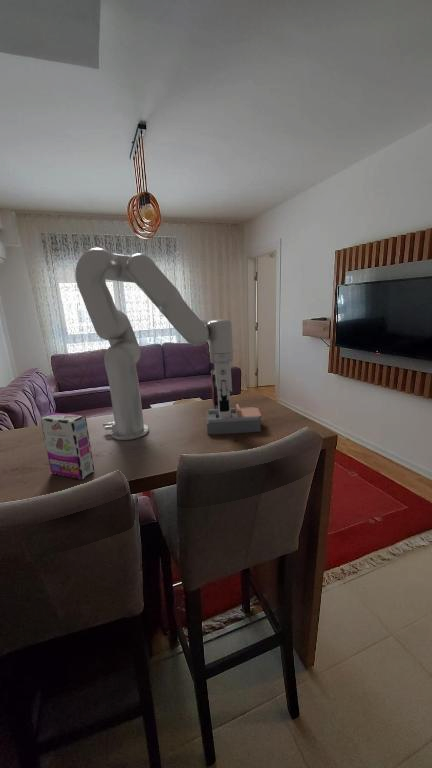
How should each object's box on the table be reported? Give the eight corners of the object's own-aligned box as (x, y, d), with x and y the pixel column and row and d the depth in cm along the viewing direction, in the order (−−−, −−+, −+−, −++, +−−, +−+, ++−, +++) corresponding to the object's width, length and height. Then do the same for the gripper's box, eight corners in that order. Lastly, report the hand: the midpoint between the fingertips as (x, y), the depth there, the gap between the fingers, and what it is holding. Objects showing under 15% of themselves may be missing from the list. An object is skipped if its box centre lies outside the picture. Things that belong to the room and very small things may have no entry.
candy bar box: (95, 471, 87) (86, 415, 83) (82, 480, 82) (72, 422, 78) (64, 465, 91) (54, 411, 87) (50, 474, 86) (38, 418, 82)
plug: (219, 421, 109) (217, 384, 106) (218, 416, 113) (217, 381, 110) (231, 420, 109) (229, 384, 106) (230, 416, 113) (228, 381, 110)
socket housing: (207, 434, 107) (206, 420, 105) (207, 422, 117) (206, 409, 116) (260, 431, 107) (260, 417, 106) (255, 419, 118) (255, 406, 116)
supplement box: (212, 405, 135) (210, 369, 131) (223, 405, 135) (222, 368, 131) (214, 412, 127) (212, 374, 122) (226, 412, 127) (224, 373, 123)
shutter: (238, 419, 107) (237, 411, 107) (235, 411, 115) (235, 403, 114) (261, 418, 108) (261, 410, 107) (257, 410, 115) (257, 402, 114)
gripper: (235, 361, 98) (237, 417, 102) (230, 352, 114) (232, 400, 119) (210, 362, 97) (214, 418, 102) (210, 353, 114) (212, 402, 118)
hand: (224, 408), depth 110 cm, fingers closed on plug, 4 cm apart
